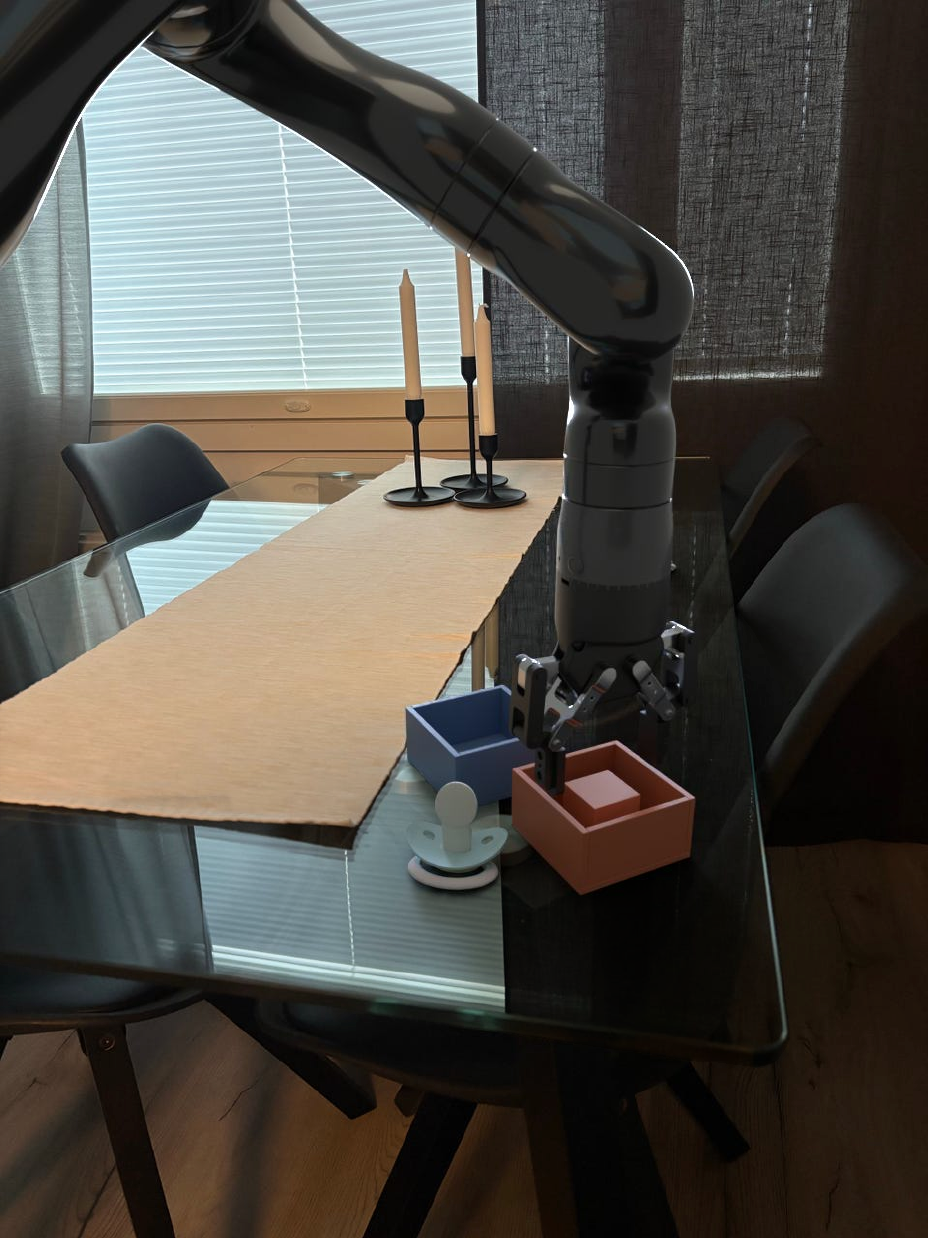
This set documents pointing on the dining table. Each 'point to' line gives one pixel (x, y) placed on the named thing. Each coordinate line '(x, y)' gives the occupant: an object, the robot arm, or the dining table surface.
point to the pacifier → (454, 842)
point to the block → (599, 799)
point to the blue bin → (467, 742)
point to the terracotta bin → (611, 844)
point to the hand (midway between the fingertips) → (601, 775)
